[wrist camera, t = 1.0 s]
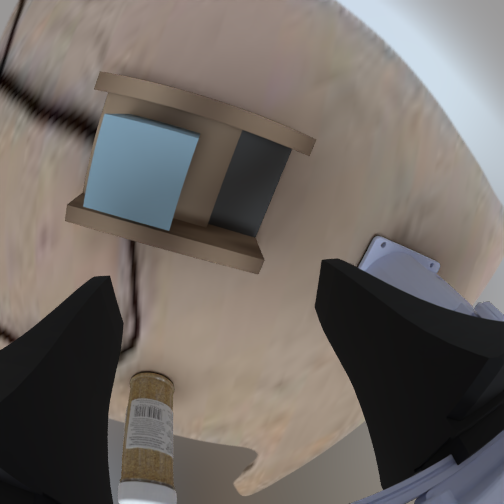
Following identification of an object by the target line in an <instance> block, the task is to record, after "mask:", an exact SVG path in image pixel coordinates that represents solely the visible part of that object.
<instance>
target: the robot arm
mask: <svg viewBox="0 0 504 504" xmlns="http://www.w3.org/2000/svg"><path fill="white" fill-rule="evenodd" d="M383 242H384V243H383ZM382 243H383V245H381V244H382ZM439 268H440V263H438V262H437V261H435V260H433V259H431V258H429V257H426V256H424V255H422V254H420V253H418V252H415V251H413V250H411V249H409V248H407V247H404V246H402V245H400V244H398V243H395V242H393V241H391V240H388V239H386V238H384V237H381V236H376V237H374V238H373V240H372V242H371V244H370V246H369V248H368V250H367V252H366V253H365V255H364V257H363V259H362V261H361V263H360V265H359V267H358V268H357V267H356V266H354V265H352V264H349V263H347V262H345V261H343V260H340V259H326V260H322V262H321V269H320V276H319V283H318V290H317V296H316V302H315V309H316V312H317V315H318V318H319V321H320V323H321V326H322V328H323V331H324V333H325V334H326V336H327V338H328V340H329V342H330V344H331V346H332V347H333V349H334V351H335V353H336V355H337V357H338V358H339V360H340V362H341V364H342V366H343V368H344V369H345V371H346V373H347V375H348V377H349V379H350V381H351V383H352V385H353V387H354V390H355V393H356V395H357V398H358V400H359V403H360V406H361V408H362V411H363V414H364V417H365V420H366V423H367V426H368V429H369V433H370V437H371V440H372V444H373V448H374V451H375V456H376V461H377V465H378V470H379V475H380V482H381V486H382V488H383V491H381V492H378V493H376V494H373V495H371V496H368V497H366V498H363V499H361V500H358V501H355V502H353V503H350V504H406V503H408V502H410V501H412V500H414V499H415V498H417V497H418V498H417V499H416V500H415V503H414V504H504V315H503V314H502V313H501V312H500V311H499V310H498V309H497V308H496V307H495V306H494V305H493V304H492V303H490V302H489V301H487V302H483V303H481V302H479V303H477V305H476V306H475V308H474V309H473V307H472V306H471V304H470V303H469V302H468V301H467V300H466V299H465V298H464V297H462V296H461V295H460V294H459V293H458V292H457V291H456V290H455V289H454V288H452V287H451V286H450V285H449V284H448V283H447V282H446V281H445V280H443V279H442V278H441V277H440V276H439V275H438V274H437V272H438V270H439ZM474 310H475V311H474ZM123 324H124V323H123V320H122V317H121V314H120V310H119V307H118V304H117V300H116V297H115V293H114V289H113V286H112V282H111V278H110V276H97V277H93V278H91V279H90V280H88V281H87V282H86V283H84V284H83V285H82V286H81V287H80V288H78V289H77V290H76V291H75V292H74V293H73V294H71V295H70V296H69V297H68V298H67V299H66V300H65V301H63V302H62V303H61V304H60V305H59V306H58V307H57V308H56V309H54V310H53V311H52V312H51V313H50V314H48V315H47V316H46V317H45V318H44V319H42V320H41V321H40V322H39V323H38V324H36V325H35V326H34V327H33V328H31V329H30V330H29V331H28V332H26V333H25V334H24V335H22V336H21V337H19V338H18V339H17V340H15V341H14V342H12V343H11V344H9V345H8V346H6V347H5V348H3V349H2V350H0V504H113V500H112V494H111V487H110V478H109V467H108V447H107V446H108V444H107V443H108V442H107V441H108V440H107V436H108V433H107V431H108V412H109V404H110V398H111V393H112V388H113V383H114V378H115V373H116V369H117V364H118V360H119V355H120V351H121V344H122V334H123Z"/></svg>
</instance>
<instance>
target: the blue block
mask: <svg viewBox="0 0 504 504" xmlns="http://www.w3.org/2000/svg"><path fill="white" fill-rule="evenodd" d="M199 136H200V133H197V132H194V131H191V130H187V129H184V128H181V127H177V126H174V125H170V124H167V123H163V122H159V121H156V120H152V119H148V118H144V117H140V116H136V115H132V114H104V117H103V121H102V124H101V128H100V131H99V135H98V139H97V143H96V146H95V150H94V155H93V159H92V163H91V168H90V172H89V177H88V182H87V188H86V193H85V199H84V205H83V207H86V208H90V209H93V210H97V211H100V212H104V213H108V214H111V215H115V216H118V217H122V218H125V219H129V220H132V221H136V222H139V223H143V224H147V225H150V226H154V227H157V228H161V229H164V230H168V231H169V230H170V226H171V223H172V219H173V216H174V213H175V209H176V206H177V203H178V199H179V196H180V193H181V190H182V187H183V184H184V180H185V177H186V174H187V171H188V168H189V165H190V162H191V159H192V156H193V154H194V151H195V148H196V145H197V142H198V139H199Z"/></svg>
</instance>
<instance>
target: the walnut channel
mask: <svg viewBox="0 0 504 504" xmlns="http://www.w3.org/2000/svg"><path fill="white" fill-rule="evenodd" d="M94 89H95V90H100V91H105V92H108V95H107V98H106V101H105V104H104V107H103V111H102V114H101V117H100V121H99V124H98V128H97V131H96V135H95V139H94V143H93V147H92V151H91V155H90V159H89V164H88V168H87V173H86V178H85V183H84V189H83V193H82V194H81V195H79V196H78V197H77V198H75V199H74V200H73V201H71V202H70V203H69V204H67V209H66V217H65V221H67V222H70V223H74V224H77V225H81V226H84V227H87V228H91V229H94V230H98V231H101V232H105V233H108V234H112V235H115V236H119V237H122V238H126V239H129V240H133V241H136V242H140V243H143V244H147V245H150V246H154V247H158V248H161V249H165V250H169V251H172V252H176V253H179V254H183V255H187V256H191V257H194V258H198V259H202V260H205V261H209V262H213V263H217V264H220V265H224V266H228V267H232V268H236V269H239V270H243V271H247V272H251V273H255V274H259V272H260V270H261V267H262V265H263V263H264V258H263V255H262V253H261V250H260V248H259V246H258V243H257V241H256V238H255V237H256V235H257V232H258V230H259V228H260V225H261V223H262V220H263V218H264V215H265V213H266V211H267V208H268V206H269V203H270V201H271V199H272V196H273V194H274V191H275V189H276V186H277V184H278V182H279V179H280V177H281V174H282V172H283V170H284V167H285V165H286V162H287V160H288V157H289V155H290V153H291V150H292V149H293V150H296V151H298V152H301V153H303V154H305V155H308V156H310V154H311V151H312V149H313V146H314V144H315V142H316V139H314V138H312V137H310V136H308V135H305V134H303V133H301V132H299V131H296V130H294V129H292V128H289V127H287V126H284V125H282V124H280V123H277V122H275V121H272V120H270V119H267V118H265V117H262V116H259V115H257V114H254V113H252V112H249V111H246V110H243V109H241V108H238V107H235V106H232V105H229V104H226V103H223V102H220V101H217V100H214V99H211V98H208V97H205V96H201V95H198V94H195V93H191V92H188V91H184V90H181V89H177V88H174V87H170V86H166V85H162V84H158V83H154V82H150V81H146V80H141V79H137V78H132V77H127V76H122V75H117V74H112V73H107V72H101V71H100V73H99V76H98V79H97V82H96V85H95V88H94ZM104 114H132V115H136V116H140V117H144V118H148V119H152V120H156V121H159V122H163V123H167V124H170V125H174V126H177V127H181V128H184V129H187V130H191V131H194V132H197V133H200V136H199V139H198V142H197V145H196V148H195V151H194V154H193V156H192V159H191V162H190V165H189V168H188V171H187V174H186V177H185V180H184V184H183V187H182V190H181V193H180V196H179V199H178V203H177V206H176V209H175V213H174V216H173V219H172V223H171V226H170V230H169V231H168V230H164V229H161V228H157V227H154V226H150V225H147V224H143V223H139V222H136V221H132V220H129V219H125V218H122V217H118V216H115V215H111V214H108V213H104V212H100V211H97V210H93V209H90V208H86V207H83V205H84V199H85V193H86V188H87V182H88V177H89V172H90V168H91V163H92V159H93V155H94V150H95V146H96V143H97V139H98V135H99V131H100V128H101V124H102V121H103V117H104Z"/></svg>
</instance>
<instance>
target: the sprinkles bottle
mask: <svg viewBox="0 0 504 504" xmlns="http://www.w3.org/2000/svg"><path fill="white" fill-rule="evenodd" d="M130 388H131V389H130V396H129V402H128V406H127V410H126V418H125V427H124V443H123V455H122V472H121V473H122V477H121V479H120V484H119V485H118V502H119V503H120V504H177V496H176V492H175V491H174V490H175V487H174V485H173V484H174V483H173V410H172V409H173V393H174V386H173V384H172V382H171V381H169V380H168V379H167V378H165V377H164V376H162V375H159V374H155V373H140V374H137V375H135V376H134V377H132V379H131V381H130Z"/></svg>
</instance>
